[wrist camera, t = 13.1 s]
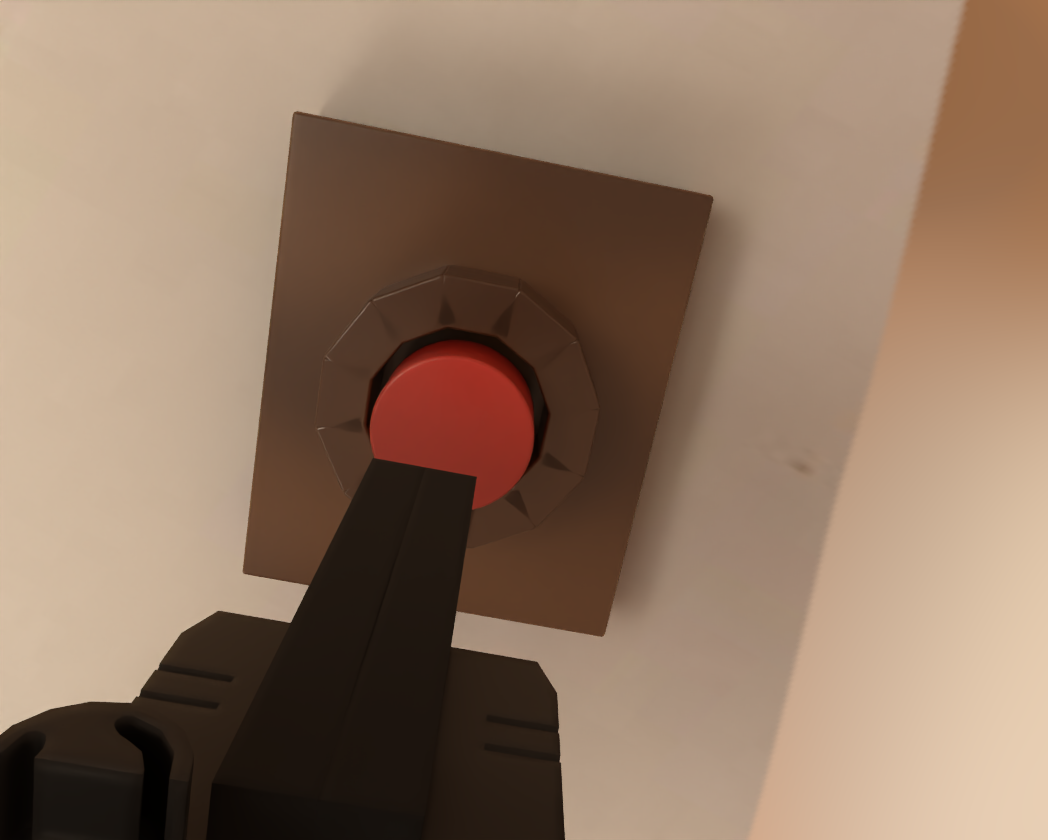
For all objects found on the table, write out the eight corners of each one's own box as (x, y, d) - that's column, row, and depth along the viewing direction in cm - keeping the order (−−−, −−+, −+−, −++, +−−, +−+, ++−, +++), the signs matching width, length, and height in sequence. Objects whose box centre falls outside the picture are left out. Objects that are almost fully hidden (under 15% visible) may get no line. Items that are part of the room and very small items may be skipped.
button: (394, 325, 20) (381, 341, 18) (547, 355, 20) (549, 372, 18) (372, 470, 21) (358, 497, 19) (518, 497, 21) (517, 526, 19)
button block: (314, 115, 22) (269, 105, 18) (698, 192, 22) (732, 200, 19) (265, 540, 25) (218, 608, 22) (598, 599, 26) (610, 675, 22)
